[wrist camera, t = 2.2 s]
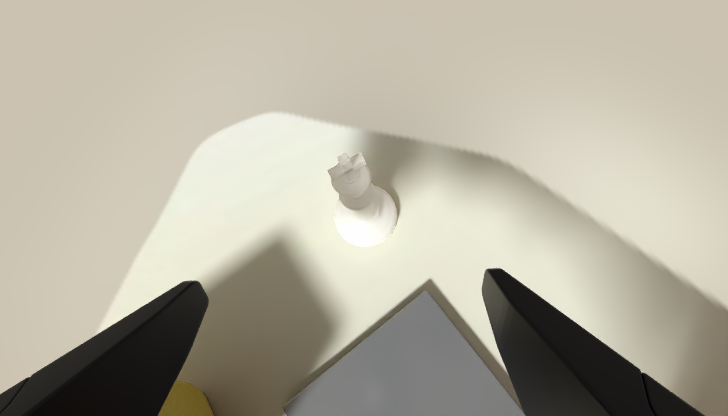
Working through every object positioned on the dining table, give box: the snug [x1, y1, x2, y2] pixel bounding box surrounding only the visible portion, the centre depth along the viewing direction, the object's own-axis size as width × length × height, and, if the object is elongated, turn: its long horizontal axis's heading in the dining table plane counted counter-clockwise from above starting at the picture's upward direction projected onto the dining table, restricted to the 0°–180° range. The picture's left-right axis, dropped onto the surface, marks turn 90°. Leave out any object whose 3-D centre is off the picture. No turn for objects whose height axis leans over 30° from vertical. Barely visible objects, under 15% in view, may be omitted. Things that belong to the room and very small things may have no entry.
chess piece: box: [327, 153, 397, 247], centre depth 16 cm, size 5×5×10 cm
